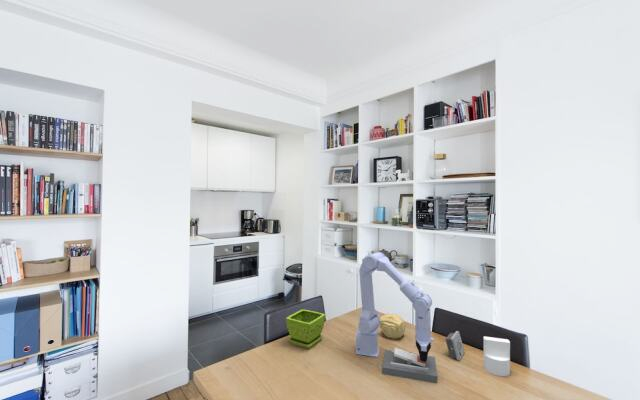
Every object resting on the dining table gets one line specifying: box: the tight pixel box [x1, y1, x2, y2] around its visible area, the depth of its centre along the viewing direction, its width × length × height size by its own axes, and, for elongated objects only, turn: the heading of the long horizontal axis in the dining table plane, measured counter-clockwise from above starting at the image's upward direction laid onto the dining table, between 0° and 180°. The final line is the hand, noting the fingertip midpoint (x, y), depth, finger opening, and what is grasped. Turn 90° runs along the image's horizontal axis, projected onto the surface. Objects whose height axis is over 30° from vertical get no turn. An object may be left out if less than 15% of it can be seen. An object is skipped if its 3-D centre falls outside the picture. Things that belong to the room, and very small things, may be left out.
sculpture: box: [379, 313, 406, 340], centre depth 147 cm, size 11×12×11 cm
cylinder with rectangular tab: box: [483, 335, 511, 378], centre depth 118 cm, size 9×9×12 cm
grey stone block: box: [445, 330, 466, 362], centre depth 129 cm, size 9×5×9 cm, turn 141°
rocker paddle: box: [393, 346, 425, 367], centre depth 119 cm, size 12×5×1 cm, turn 73°
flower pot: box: [285, 308, 326, 349], centre depth 140 cm, size 14×14×13 cm
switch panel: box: [381, 349, 439, 384], centre depth 119 cm, size 20×14×5 cm
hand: (423, 360), depth 117 cm, fingers closed, pressing on rocker paddle
